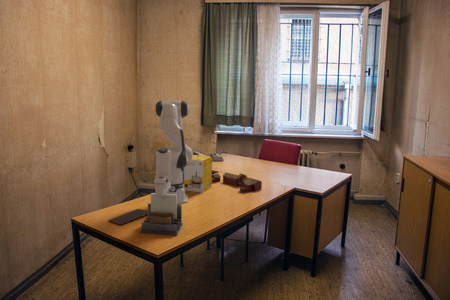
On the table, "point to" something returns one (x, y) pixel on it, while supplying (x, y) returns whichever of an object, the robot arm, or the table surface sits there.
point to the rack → (163, 228)
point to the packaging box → (198, 174)
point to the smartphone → (129, 217)
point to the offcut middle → (163, 215)
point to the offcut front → (160, 220)
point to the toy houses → (239, 181)
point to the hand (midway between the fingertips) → (163, 199)
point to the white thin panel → (164, 204)
